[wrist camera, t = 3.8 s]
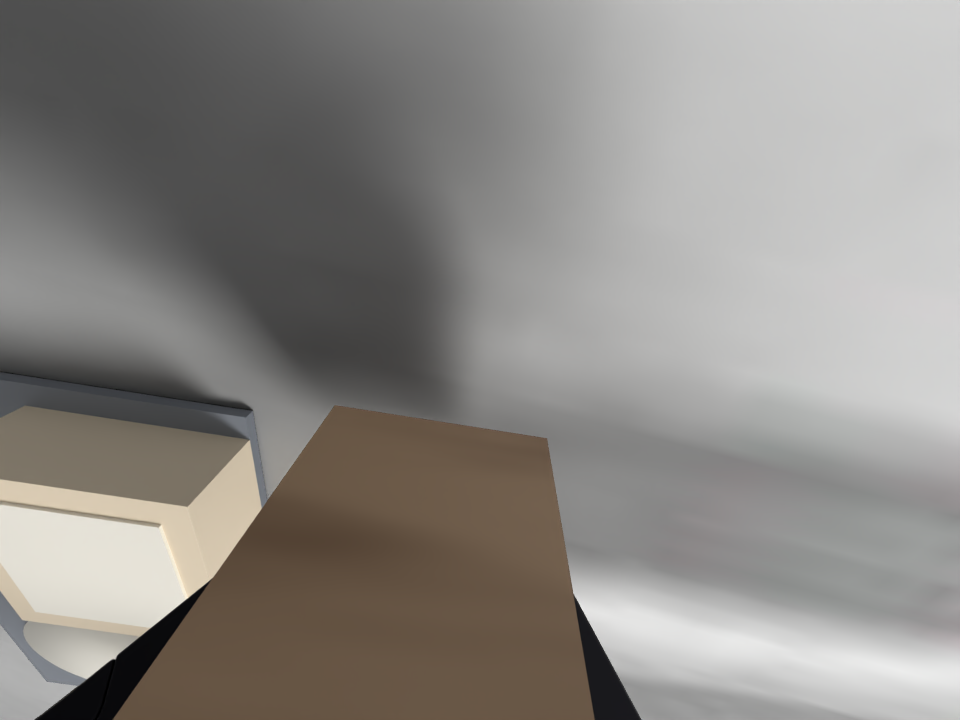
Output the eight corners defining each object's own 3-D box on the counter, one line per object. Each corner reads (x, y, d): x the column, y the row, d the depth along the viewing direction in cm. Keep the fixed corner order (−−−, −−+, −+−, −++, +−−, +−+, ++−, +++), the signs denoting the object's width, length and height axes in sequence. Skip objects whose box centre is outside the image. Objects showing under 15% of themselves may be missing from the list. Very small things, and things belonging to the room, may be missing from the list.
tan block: (507, 569, 11) (513, 944, 6) (339, 545, 11) (183, 906, 6) (547, 438, 9) (618, 862, 3) (334, 405, 9) (62, 791, 3)
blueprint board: (300, 707, 24) (271, 786, 21) (53, 674, 24) (-14, 749, 21) (252, 410, 13) (177, 484, 10) (-207, 340, 13) (-431, 394, 10)
